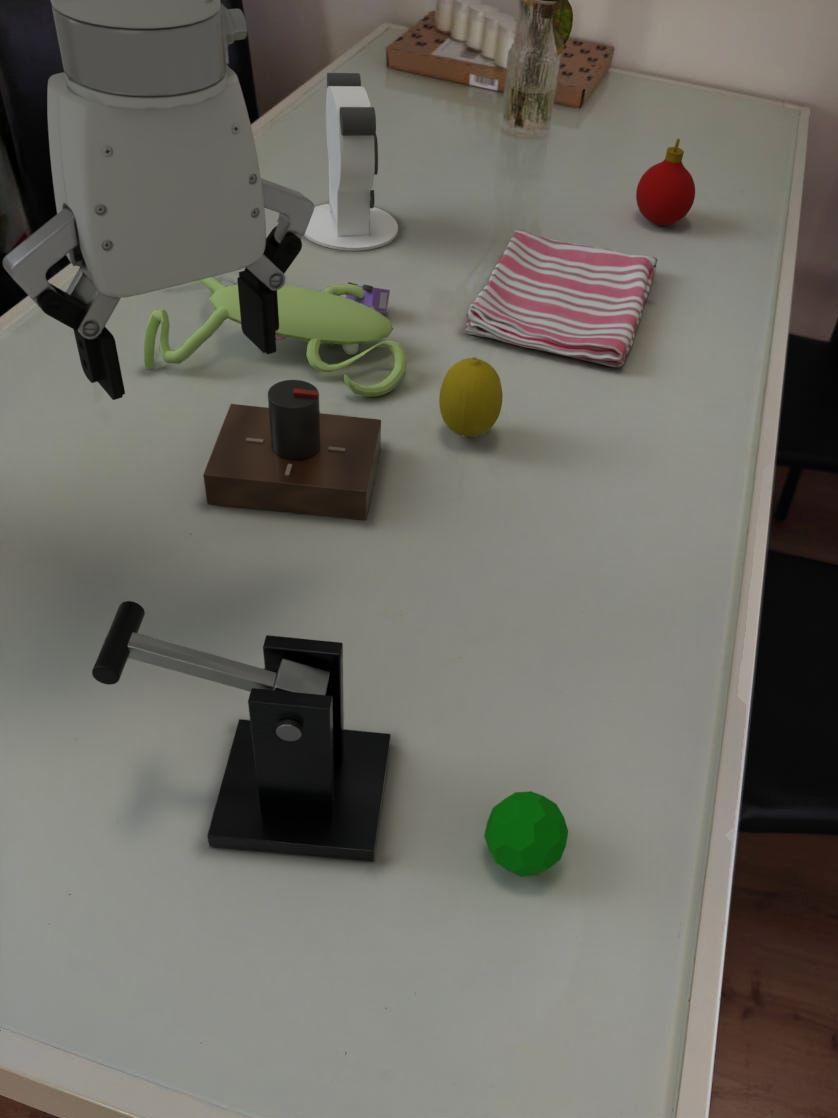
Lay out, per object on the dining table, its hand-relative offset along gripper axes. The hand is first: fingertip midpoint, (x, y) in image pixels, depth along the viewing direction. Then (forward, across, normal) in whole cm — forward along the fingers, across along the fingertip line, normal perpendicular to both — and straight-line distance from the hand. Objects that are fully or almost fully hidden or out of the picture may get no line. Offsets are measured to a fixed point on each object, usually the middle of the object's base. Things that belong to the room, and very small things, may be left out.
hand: (186, 364), depth 61 cm
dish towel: (+21, -52, -22) cm, 60 cm away
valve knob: (+17, -13, -11) cm, 24 cm away
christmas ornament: (+21, -76, -32) cm, 85 cm away
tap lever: (+10, +7, +15) cm, 19 cm away
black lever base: (+20, +3, +18) cm, 27 cm away
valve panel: (+20, -13, -11) cm, 26 cm away
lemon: (+21, -29, -8) cm, 36 cm away
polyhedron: (+21, -6, +29) cm, 36 cm away
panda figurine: (+20, -41, -47) cm, 66 cm away
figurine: (+20, -22, -31) cm, 43 cm away
